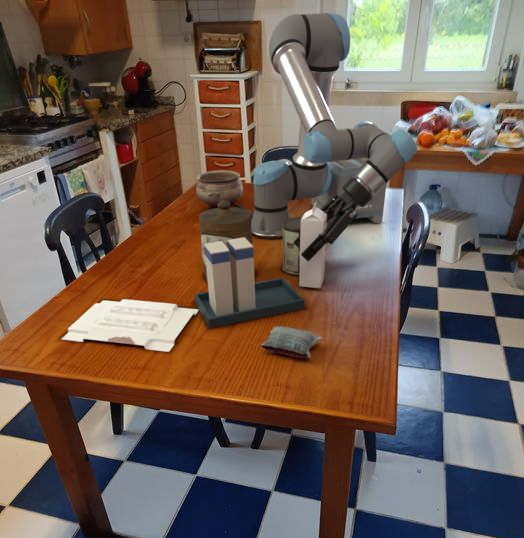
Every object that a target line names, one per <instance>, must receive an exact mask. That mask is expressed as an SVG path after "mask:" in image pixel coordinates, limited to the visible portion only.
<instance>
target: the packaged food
mask: <svg viewBox="0 0 524 538" xmlns="http://www.w3.org/2000/svg"><path fill="white" fill-rule="evenodd" d="M269 333H270V334H269V336H268V337H267V340H265V341H263V342H262V343H261V344H260V347H261V348H263V349H265V350H266V351H268V352H269V353H270V352H271V353H274V354H275V353H276V354H282V355H285V356H290V357H295V358H300V359H306V358H307V359H311V357H312V356H311V352H310V350H311V348H313V347H314V346H315V345H316V344H317V343H318V342H321V341H322V340H323V338H322V337H321V336H320V335H318V334H315V333H312V331H309V330H304V329H300V328H295V327H289V326H282V325H281V326H280V325H279V326H276V325H273V328H272V330H270V332H269Z"/></svg>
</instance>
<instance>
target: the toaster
mask: <svg viewBox="0 0 524 538" xmlns="http://www.w3.org/2000/svg"><path fill="white" fill-rule="evenodd" d="M367 160H368V159H367V158H360V159H352V160H342V161H334V162H328V163H329V165H330V167H331V174H332V178H331V184H330V187H329V189H328V191H327V192H326V193H325V194H323V195H321V196H317V197H314V198H311V203H310V204H311V205H312V207H313V206H314V205H315V203H316V207H317V208H318V209H321V208H322V207H323V206H324V205H325V204H326V203H327V202H328V201H329V200H330V199H331V198H332V197H333V195H334V194H337V195H338V196H339V197H340V196H341V195H342V194H343V193H345V191H344V190H343V186H344V185H345V184H346V182H347V181H348V180H349V179H350V178H352V177H353V178H354V177H355V176H354V174H355V173H356V172H357V171H358V169H359V168H360V167H361V166H362V165H363V164H364V163H365V162H366V161H367ZM387 183H388V182H387ZM387 183H386V184H385V185H384V186H383V188H382V190H379V191H378V192H377V193H376V194H375V195H373V194H372V195H371V196H372V199H371V200H370V201H369V202H368V203H367V204H366V205H365V206H364V207H360V206H359V205H358V206H357V208H356V209H355V212H356V213H357V214H358V216H357V217H356V218H355V219H363V218H367V219H368V220H370V221H371V222H373V223H374V224H380V223H383V217H384V210H385V209H384V208H385V202H386V201H385V200H386V193H387V192H386V191H387ZM332 219H333V218H332ZM332 219H331V220H332ZM331 220H329V221H328V222H329V223H330V222H331Z"/></svg>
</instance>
